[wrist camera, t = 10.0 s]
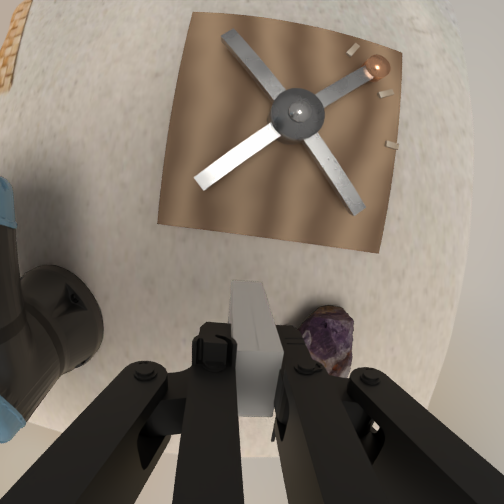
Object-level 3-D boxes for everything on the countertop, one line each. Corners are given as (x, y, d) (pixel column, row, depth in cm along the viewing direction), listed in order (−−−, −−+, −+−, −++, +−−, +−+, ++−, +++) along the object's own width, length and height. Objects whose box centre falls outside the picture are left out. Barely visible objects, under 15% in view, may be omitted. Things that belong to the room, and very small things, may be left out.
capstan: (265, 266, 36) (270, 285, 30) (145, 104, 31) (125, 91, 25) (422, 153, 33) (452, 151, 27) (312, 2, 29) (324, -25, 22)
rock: (348, 300, 40) (272, 305, 40) (374, 317, 32) (283, 325, 31) (343, 379, 41) (273, 386, 41) (364, 408, 33) (282, 420, 32)
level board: (160, 222, 36) (155, 224, 34) (194, 17, 30) (191, 9, 28) (373, 250, 37) (380, 255, 35) (397, 56, 32) (404, 51, 29)
